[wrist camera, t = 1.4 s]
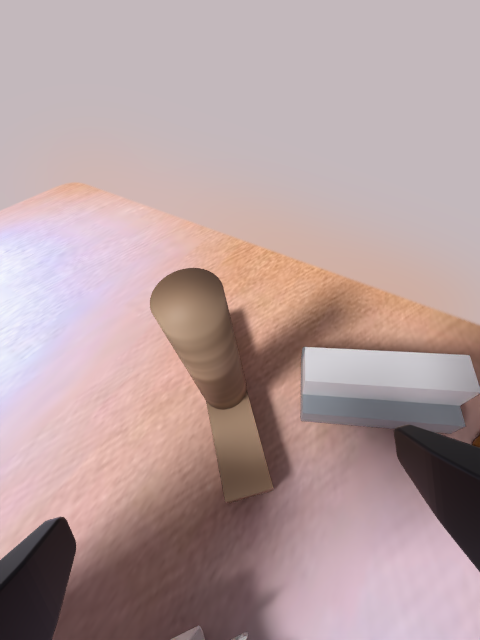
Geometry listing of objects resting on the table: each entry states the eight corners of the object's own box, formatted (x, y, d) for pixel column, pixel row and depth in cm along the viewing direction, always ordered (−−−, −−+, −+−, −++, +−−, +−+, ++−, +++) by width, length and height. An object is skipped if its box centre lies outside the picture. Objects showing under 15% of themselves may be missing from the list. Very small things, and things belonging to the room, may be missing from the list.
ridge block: (433, 365, 23) (463, 336, 20) (450, 433, 21) (488, 415, 17) (300, 358, 25) (305, 330, 21) (300, 420, 22) (305, 401, 18)
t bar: (275, 489, 20) (271, 458, 9) (228, 503, 20) (168, 487, 9) (228, 320, 28) (196, 193, 17) (194, 329, 28) (140, 207, 17)
